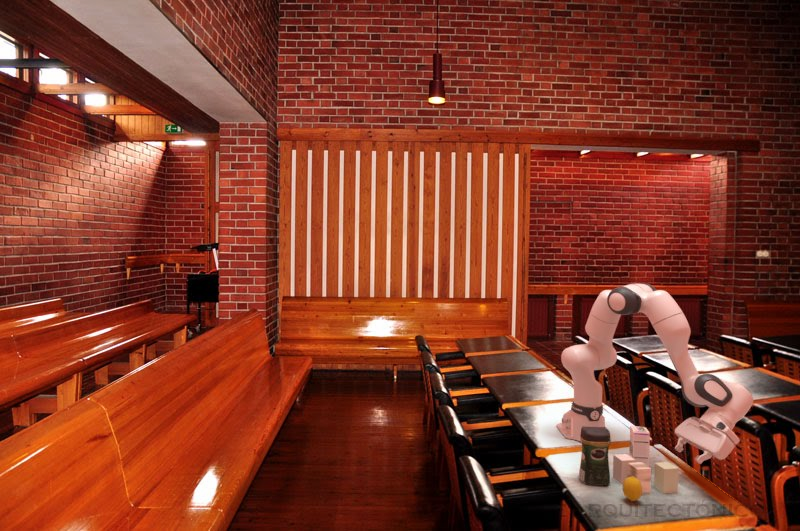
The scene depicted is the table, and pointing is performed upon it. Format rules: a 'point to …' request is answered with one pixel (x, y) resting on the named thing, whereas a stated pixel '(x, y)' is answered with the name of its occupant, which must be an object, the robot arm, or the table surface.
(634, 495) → the lemon
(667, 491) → the beige rectangular block
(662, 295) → the robot arm
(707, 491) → the table surface
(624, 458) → the pink rectangular block
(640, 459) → the syrup box
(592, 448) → the coffee jar
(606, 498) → the table surface
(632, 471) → the pink tall block
